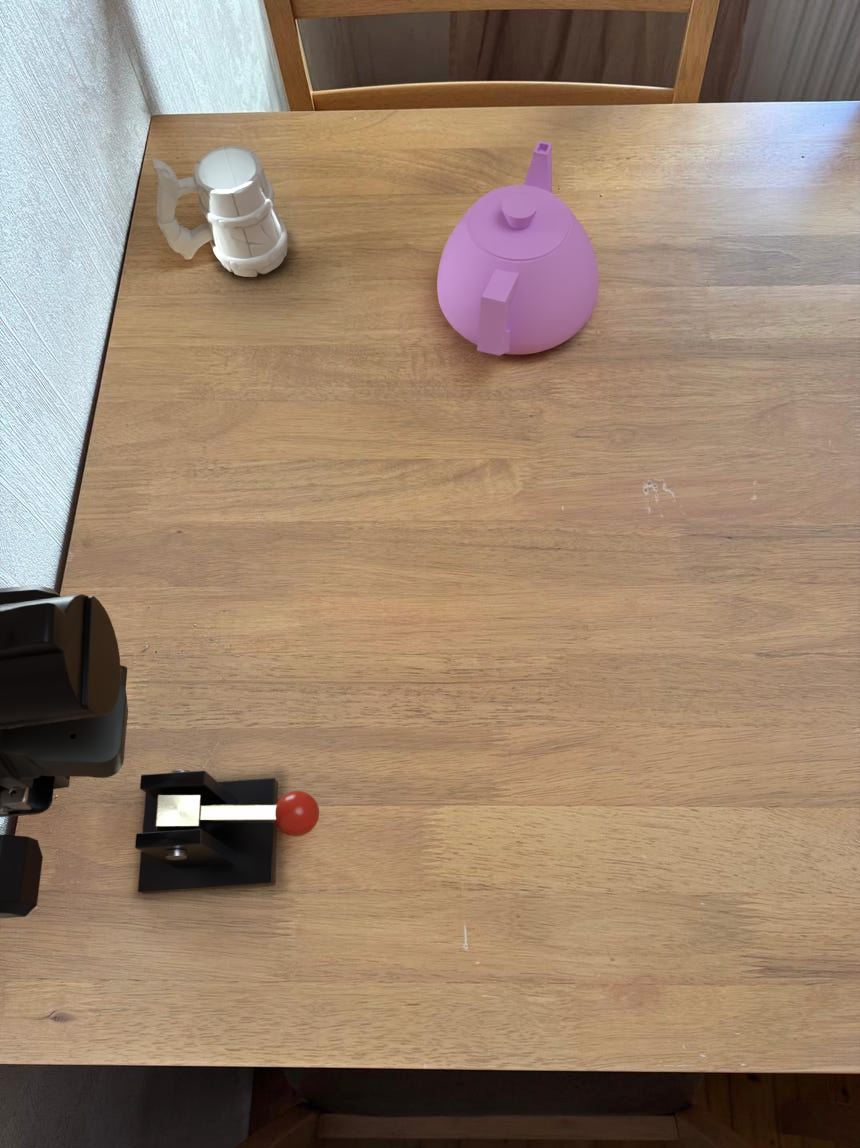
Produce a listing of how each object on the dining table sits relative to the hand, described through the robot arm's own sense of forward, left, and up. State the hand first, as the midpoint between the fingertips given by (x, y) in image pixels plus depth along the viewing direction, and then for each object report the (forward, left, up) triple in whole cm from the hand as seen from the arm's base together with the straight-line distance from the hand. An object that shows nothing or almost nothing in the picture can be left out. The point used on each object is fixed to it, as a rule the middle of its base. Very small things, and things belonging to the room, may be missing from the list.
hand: (62, 781), depth 59 cm
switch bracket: (+5, -4, -13) cm, 14 cm away
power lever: (+8, -5, -8) cm, 12 cm away
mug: (+30, +50, -13) cm, 60 cm away
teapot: (+52, +30, -13) cm, 61 cm away
